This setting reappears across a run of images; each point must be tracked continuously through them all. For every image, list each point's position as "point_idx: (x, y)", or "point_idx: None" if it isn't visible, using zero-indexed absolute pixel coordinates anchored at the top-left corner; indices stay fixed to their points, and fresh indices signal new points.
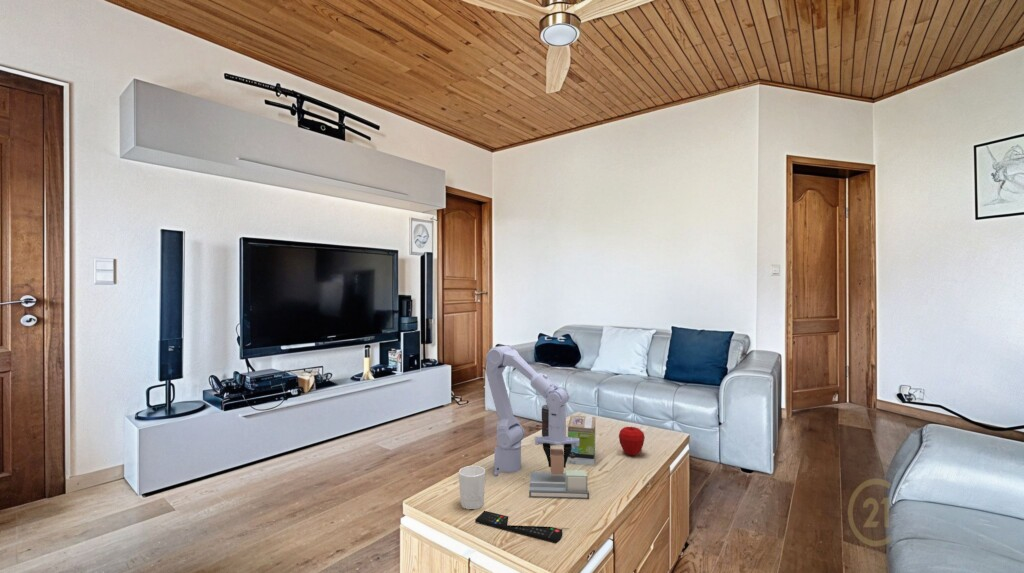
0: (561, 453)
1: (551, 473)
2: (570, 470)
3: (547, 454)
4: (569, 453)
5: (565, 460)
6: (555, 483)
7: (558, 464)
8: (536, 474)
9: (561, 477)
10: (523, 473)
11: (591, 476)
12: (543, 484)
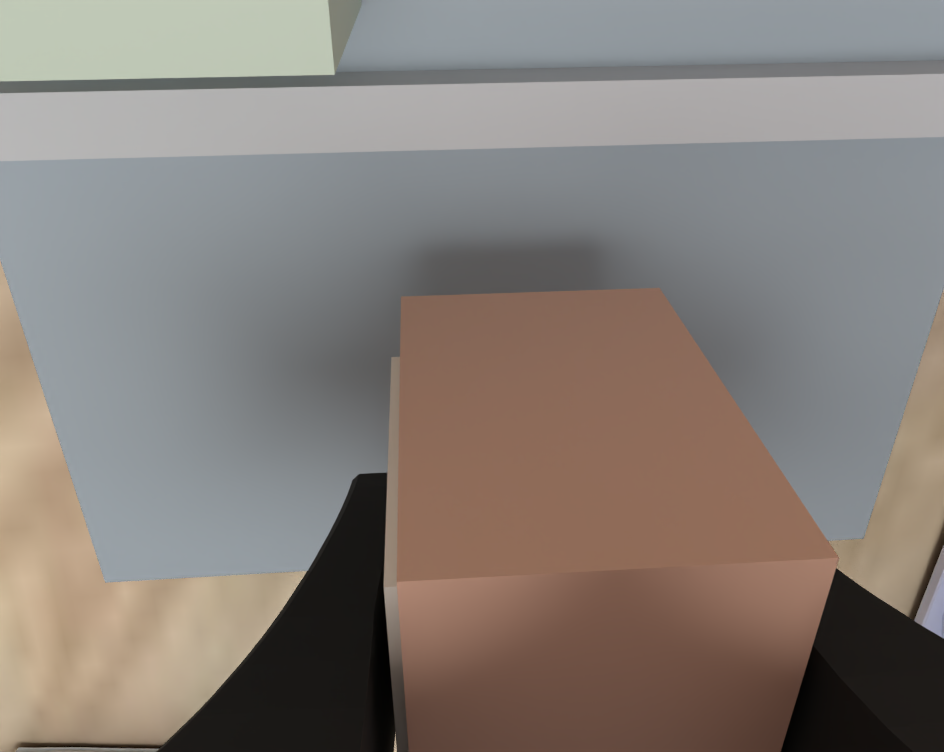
0: (456, 748)
1: (652, 298)
2: (155, 50)
3: (912, 647)
4: (170, 738)
5: (339, 570)
6: (561, 87)
7: (532, 408)
8: (794, 485)
9: None
10: (914, 549)
11: (5, 572)
12: (792, 69)
